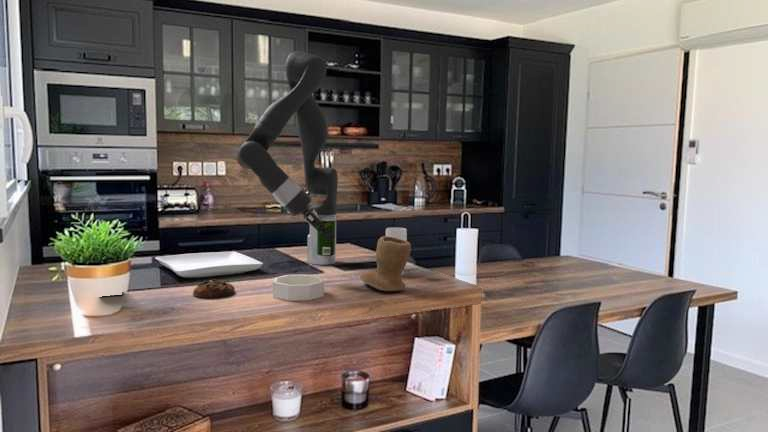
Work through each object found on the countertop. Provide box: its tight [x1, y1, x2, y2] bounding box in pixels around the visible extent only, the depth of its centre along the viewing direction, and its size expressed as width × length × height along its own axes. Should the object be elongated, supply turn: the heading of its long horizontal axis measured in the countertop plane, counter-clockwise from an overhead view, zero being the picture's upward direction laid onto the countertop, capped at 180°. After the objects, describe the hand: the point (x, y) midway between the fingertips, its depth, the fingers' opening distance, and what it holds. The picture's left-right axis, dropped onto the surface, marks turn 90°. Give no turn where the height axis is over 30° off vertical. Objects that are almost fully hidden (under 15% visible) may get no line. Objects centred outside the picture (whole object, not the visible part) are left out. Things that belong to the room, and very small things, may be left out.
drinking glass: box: [385, 227, 408, 276], centre depth 183 cm, size 7×7×15 cm
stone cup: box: [358, 235, 412, 292], centre depth 166 cm, size 15×12×15 cm
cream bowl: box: [272, 274, 325, 302], centre depth 157 cm, size 13×13×4 cm
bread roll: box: [192, 278, 235, 299], centre depth 155 cm, size 11×11×5 cm
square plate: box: [155, 251, 264, 279], centre depth 187 cm, size 27×27×4 cm
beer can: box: [317, 215, 337, 258], centre depth 169 cm, size 5×5×12 cm
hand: (332, 237), depth 170 cm, fingers closed on beer can, 5 cm apart
